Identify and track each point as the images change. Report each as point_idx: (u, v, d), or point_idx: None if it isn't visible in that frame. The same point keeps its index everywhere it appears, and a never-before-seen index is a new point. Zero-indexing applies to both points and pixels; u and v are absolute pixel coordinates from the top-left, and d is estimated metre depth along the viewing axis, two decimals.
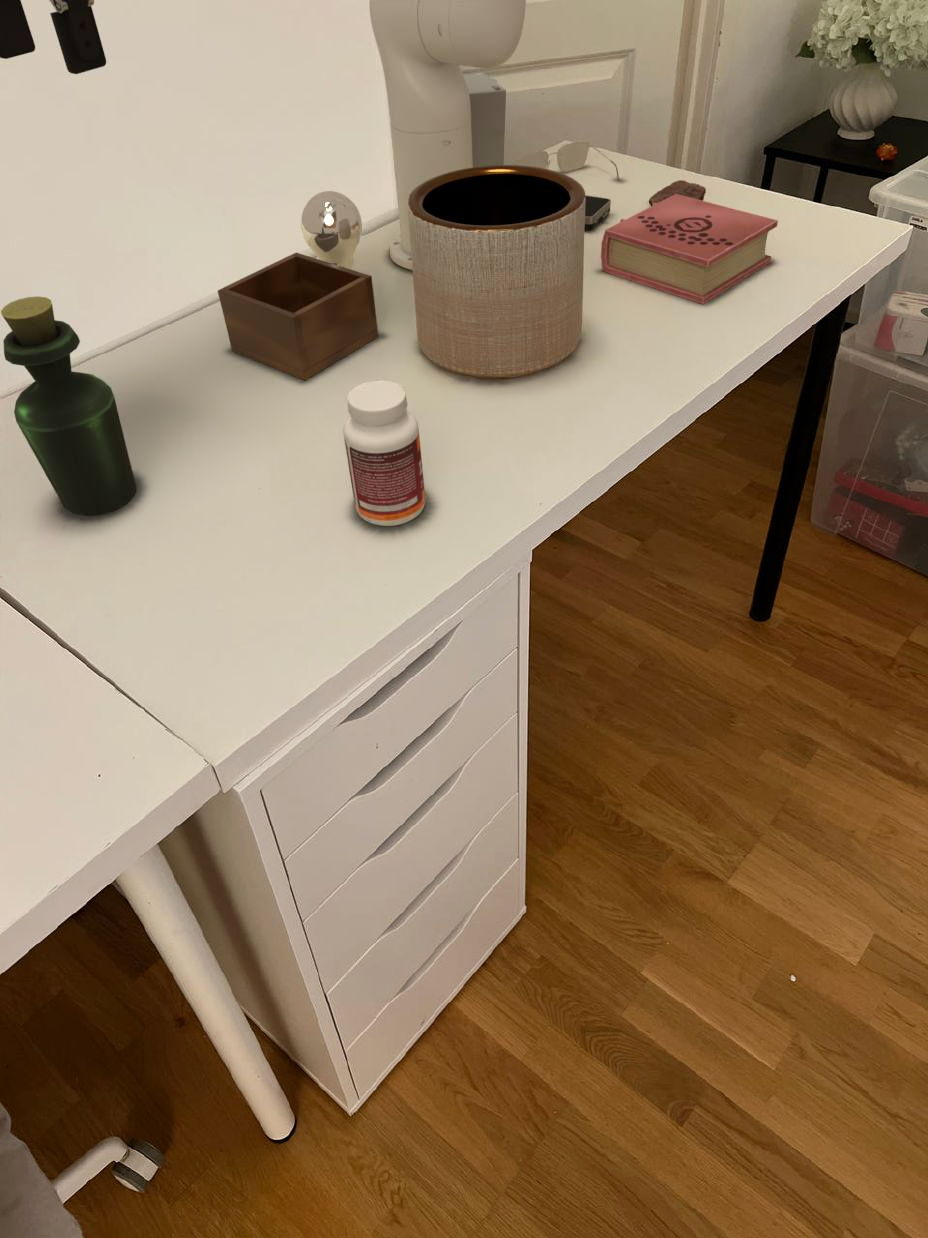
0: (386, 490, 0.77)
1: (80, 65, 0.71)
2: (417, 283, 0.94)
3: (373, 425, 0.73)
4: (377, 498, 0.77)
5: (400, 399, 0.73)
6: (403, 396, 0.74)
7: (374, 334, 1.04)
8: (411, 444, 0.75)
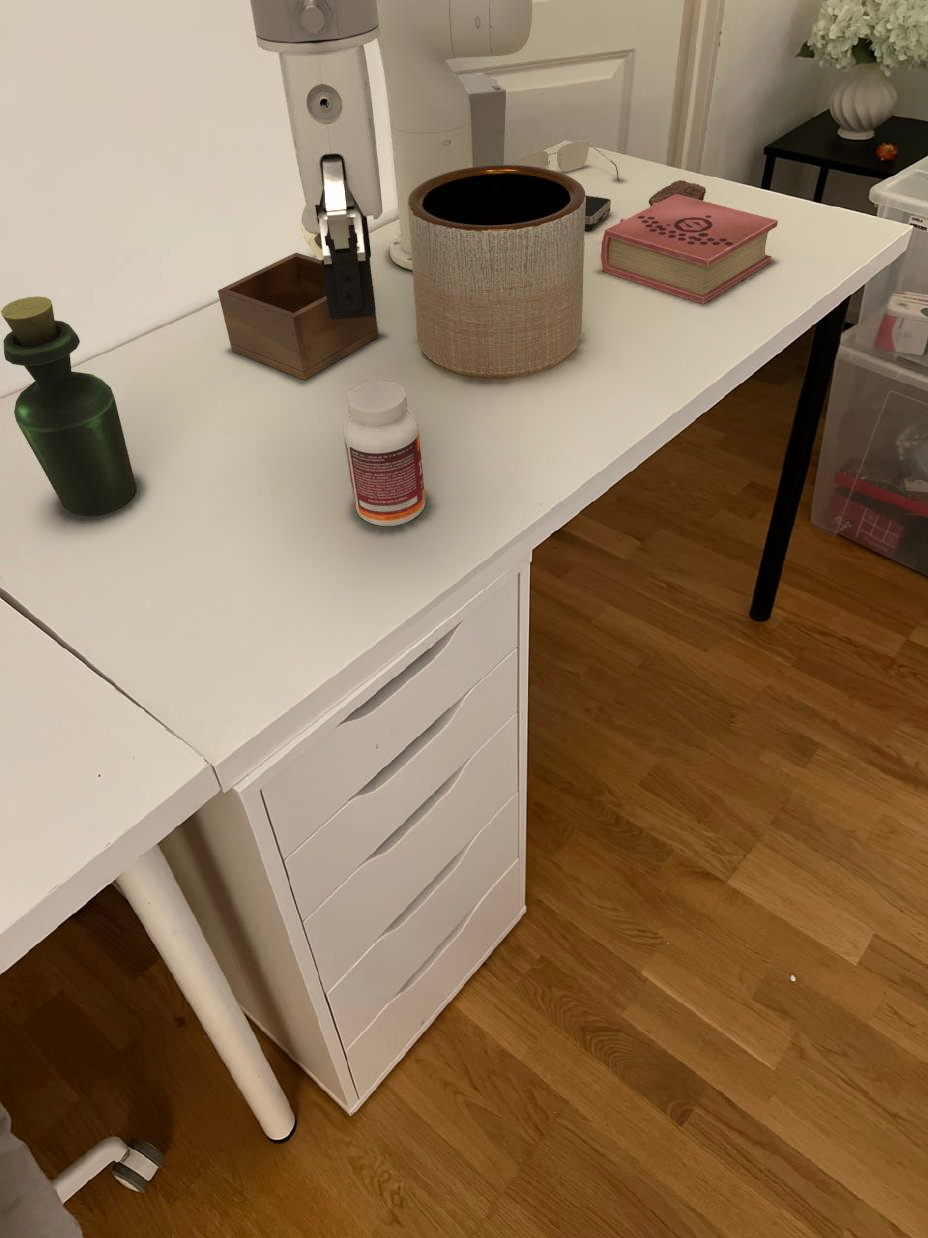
0: (386, 490, 0.77)
1: (341, 312, 0.64)
2: (417, 283, 0.94)
3: (373, 425, 0.73)
4: (377, 498, 0.77)
5: (400, 399, 0.73)
6: (403, 396, 0.74)
7: (374, 334, 1.04)
8: (411, 444, 0.75)
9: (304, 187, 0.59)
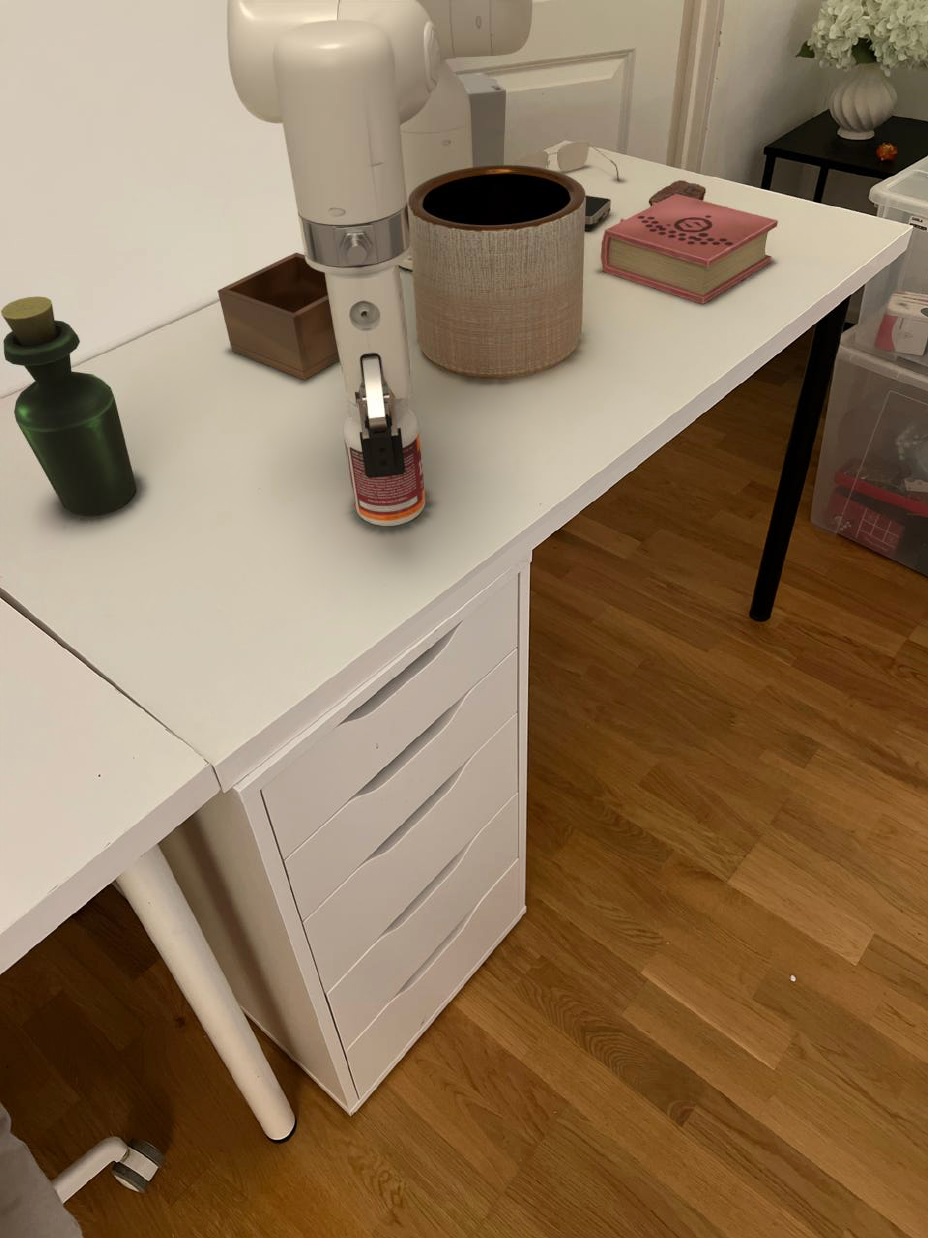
0: (386, 490, 0.77)
1: (376, 472, 0.74)
2: (417, 283, 0.94)
3: None
4: (377, 498, 0.77)
5: (400, 399, 0.73)
6: None
7: None
8: (411, 445, 0.75)
9: (345, 378, 0.67)
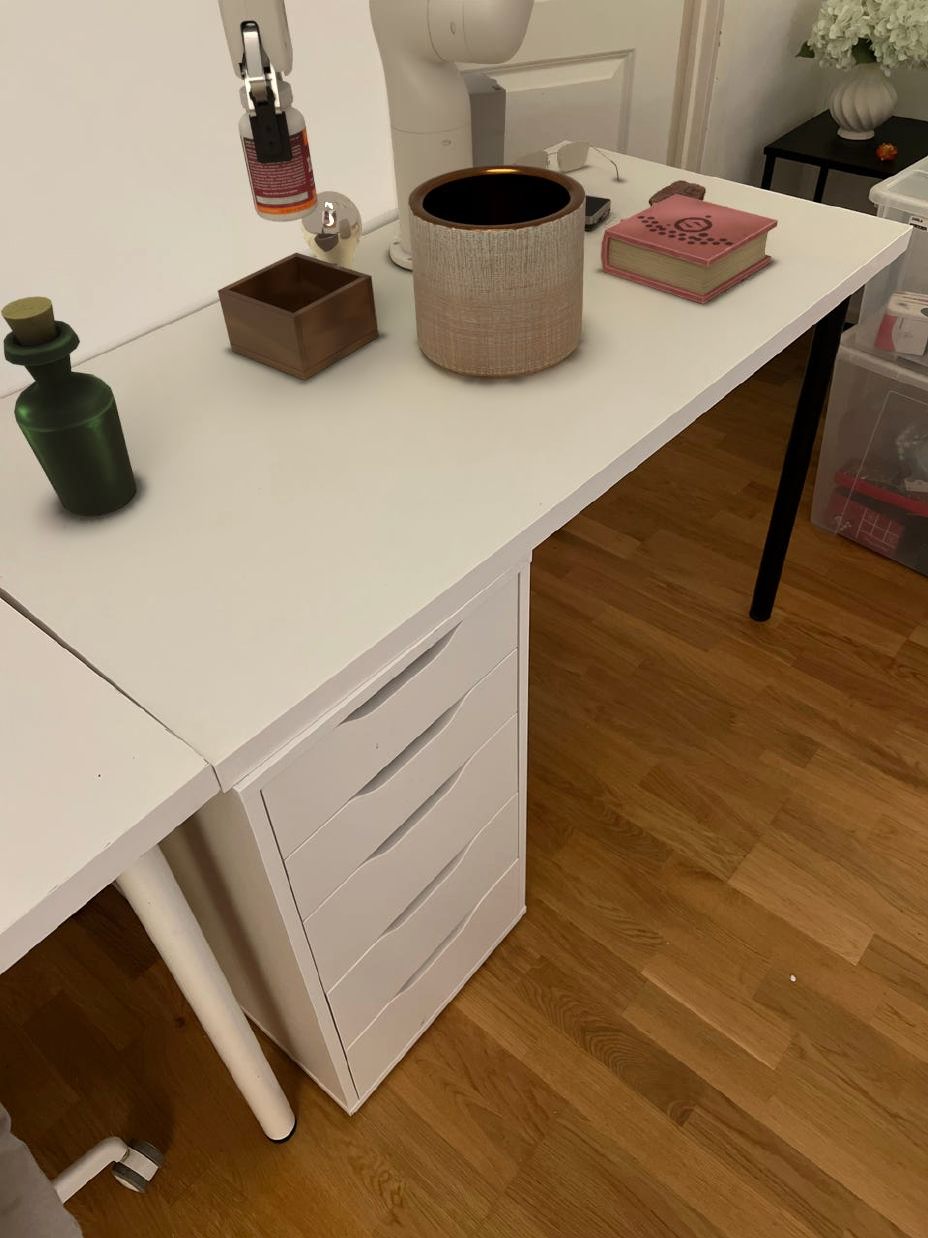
0: (277, 180, 0.87)
1: (266, 157, 0.85)
2: (417, 283, 0.94)
3: None
4: (270, 189, 0.88)
5: (284, 88, 0.84)
6: (288, 87, 0.84)
7: (374, 334, 1.04)
8: (298, 135, 0.86)
9: (229, 48, 0.78)
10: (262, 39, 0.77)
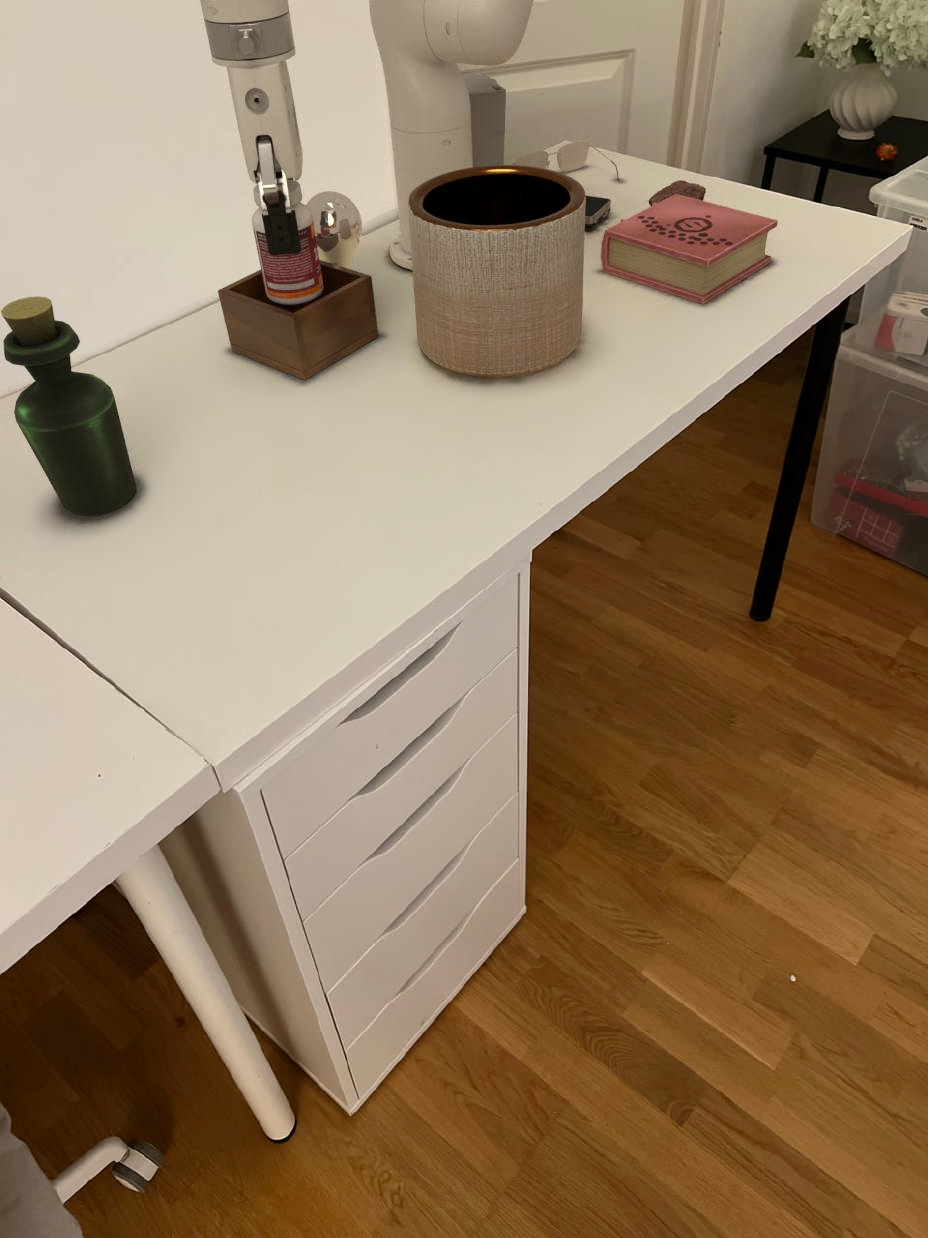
0: (286, 269, 0.95)
1: (277, 250, 0.93)
2: (417, 283, 0.94)
3: None
4: (280, 277, 0.96)
5: (294, 188, 0.92)
6: (297, 187, 0.92)
7: (374, 334, 1.04)
8: (306, 229, 0.94)
9: (245, 158, 0.86)
10: (275, 150, 0.85)
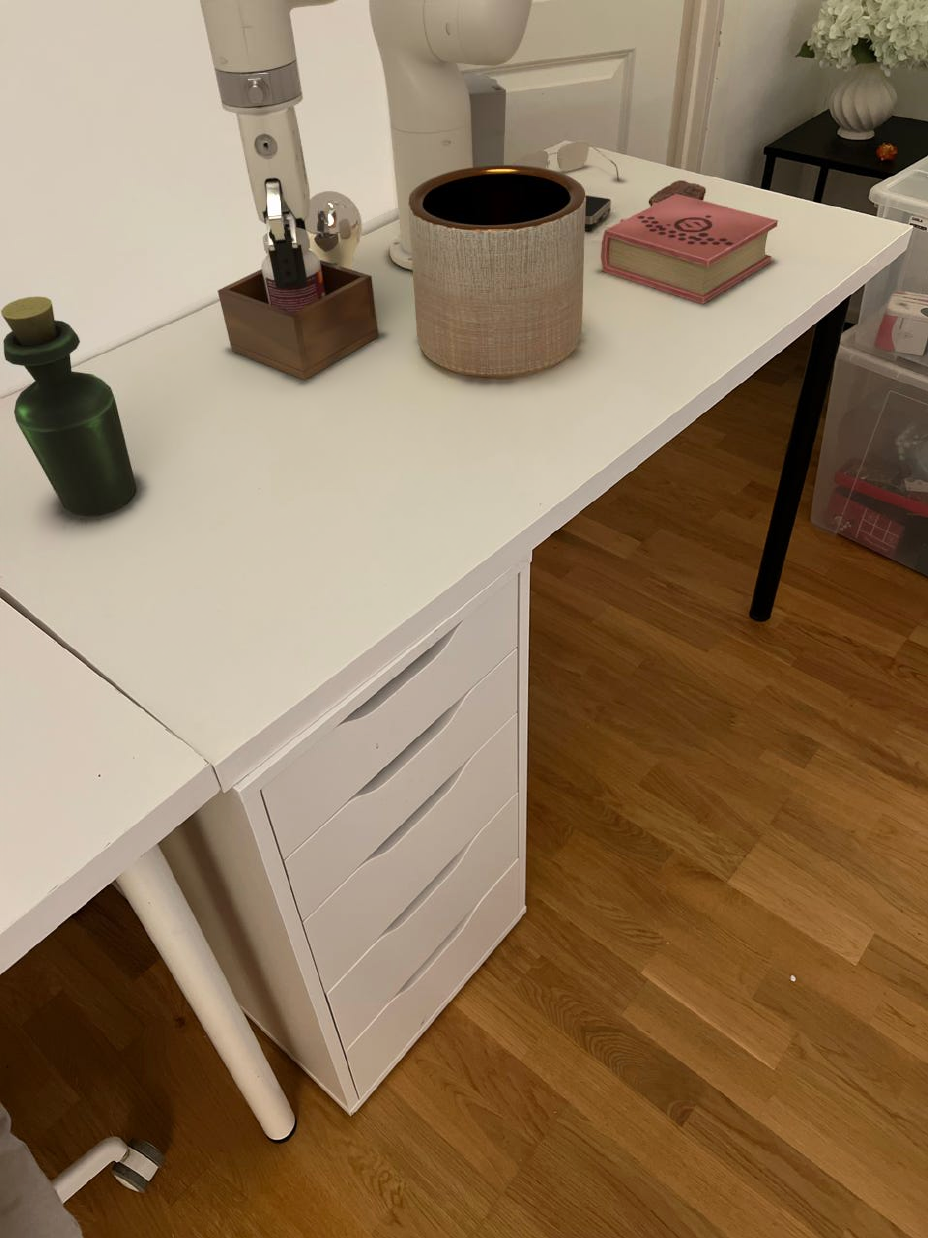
0: None
1: (284, 283, 0.94)
2: (417, 283, 0.94)
3: None
4: None
5: (303, 237, 0.95)
6: (305, 236, 0.95)
7: (374, 334, 1.04)
8: (313, 276, 0.97)
9: (255, 199, 0.89)
10: (283, 192, 0.88)
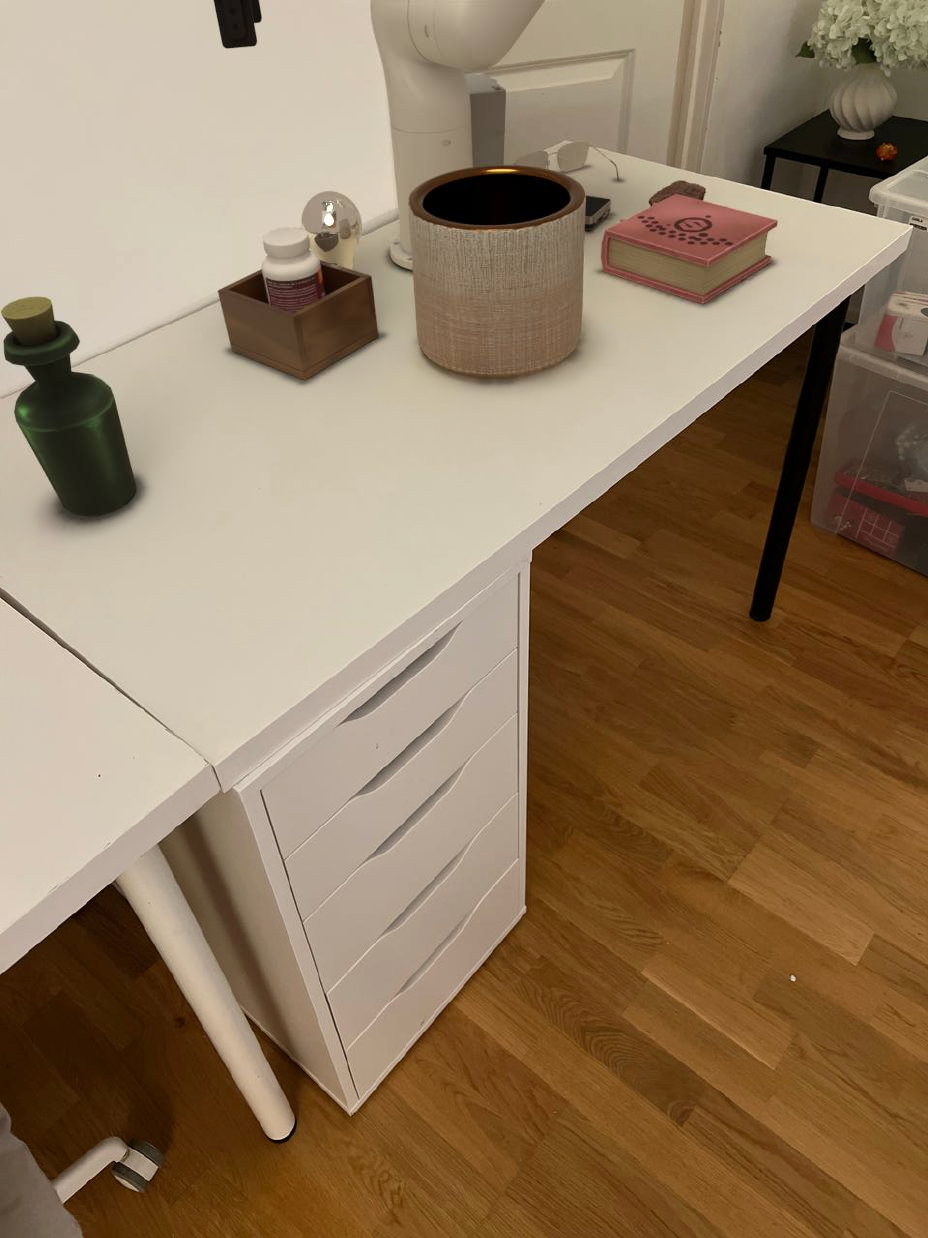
0: None
1: (231, 42, 0.86)
2: (417, 283, 0.94)
3: (282, 257, 0.95)
4: None
5: (303, 237, 0.95)
6: (305, 236, 0.95)
7: (374, 334, 1.04)
8: (313, 276, 0.97)
9: None
10: None
